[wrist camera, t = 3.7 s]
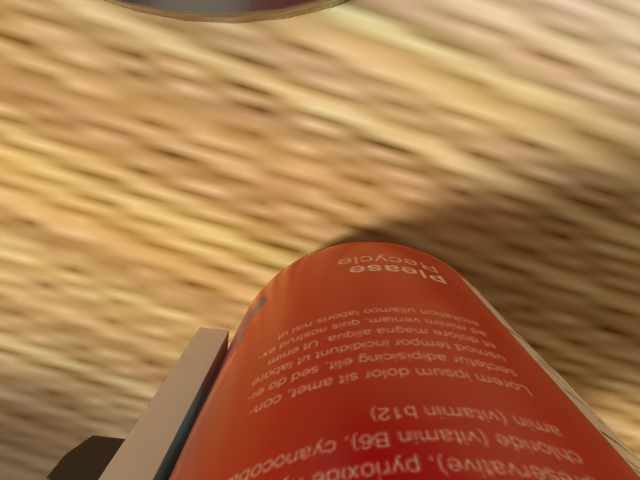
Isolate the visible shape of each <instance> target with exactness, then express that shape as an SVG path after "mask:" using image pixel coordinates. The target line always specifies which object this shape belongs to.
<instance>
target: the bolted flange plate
mask: <svg viewBox="0 0 640 480" xmlns="http://www.w3.org/2000/svg"><path fill="white" fill-rule="evenodd" d="M104 1H107V2H110V3H113V4H116V5H119V6H122V7H125V8H128V9H131V10H134V11H137V12H142V13H147V14H152V15H158V16H163V17H168V18H173V19H178V20H184V21H198V22H219V23H243V22H254V21H264V20H274V19H285V18H289V17H293V16H297V15H301V14H305V13H309V12H313V11H317V10H321V9H325V8H329V7H333V6H336V5H338V4H341V3H343V2H346V1H348V0H104Z"/></svg>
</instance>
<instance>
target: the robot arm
mask: <svg viewBox="0 0 640 480" xmlns="http://www.w3.org/2000/svg"><path fill="white" fill-rule="evenodd" d="M228 335H229V331H226V330H217V329H208V328H199V330H198V331H197V333H196V334H195V336H194V337H193V339H192V340H191V342H190V343H189V345H188V346H187V348H186V349H185V351H184V352H183V354H182V355H181V357H180V358H179V360H178V361H177V363H176V364H175V366H174V367H173V369H172V370H171V372H170V373H169V375H168V376H167V378H166V379H165V381H164V382H163V384H162V385H161V387H160V388H159V390H158V391H157V393H156V394H155V396H154V397H153V399H152V400H151V402H150V403H149V405H148V406H147V408H146V409H145V411H144V412H143V414H142V415H141V417H140V418H139V420H138V421H137V423H136V424H135V426H134V427H133V429H132V430H131V432H130V433H129V435H128V436H127V438H126V439H118V438H109V437H101V436H92V437H90V438H89V439H87V440H86V441H84V442H83V443H81V444H80V445H79V446H77V447H76V448H74V449H73V450H71V451H70V452H68V453H67V454H66V455H65V456H64V457H63V458H62V460H61V461H60V462H59V463H58V464H57V466H56V467H55V468H54V469H53V470H52V472H51V473H50V474H49V475H48V477H47V478H46V480H167V478H168V476H169V474H170V472H171V470H172V467H173V465H174V463H175V461H176V459H177V457H178V455H179V453H180V451H181V448H182V446H183V444H184V442H185V440H186V438H187V436H188V434H189V432H190V429H191V427H192V425H193V423H194V421H195V419H196V417H197V415H198V413H199V410H200V408H201V406H202V404H203V402H204V400H205V398H206V396H207V393H208V391H209V389H210V387H211V385H212V383H213V381H214V379H215V377H216V374H217V372H218V370H219V368H220V366H221V364H222V362H223V360H224V358H225V355H226V353H227V350H228ZM552 369H553V370H554V368H552ZM554 371H555V370H554ZM555 372H556V371H555ZM556 373H557V372H556ZM557 375H558V376H559V377H560V378H561V379H562V380H563V381H564V382H565V383H566V384H567V385H568V386H569V387H570V388H571V386H570V385H569V384H568V383H567V382H566V381H565V380H564V379H563V378H562V377H561V376H560V375H559V374H558V373H557ZM571 389H572V388H571ZM572 391H573V392H574V393H575V394H576V395H577V396H578V397H579V398H580V399H581V400H582V401H583V402H584V403H585V404H586V405H587V406H588V408H589V409H590V410H591V411H592V412H593V413H594V414H595V415H596V416H597V417H598V418H599V419H600V420H601V421H602V422H603V423H604V425H605V426H606V427H607V428H608V429H609V430H610V431H611V432H612V433H613V434H614V435H615V436H616V437H617V438H618V439H619V441H620V442H621V443H622V444H623V445H624V446H625V447H626V448H627V449H628V450H629V451H630V452H631V453H632V454H633V455H634V456H635V458H636V459H637V460H638V461H639V462H640V459H639V458H638V457H637V456H636V455H635V454H634V453H633V452H632V451H631V450H630V449H629V448H628V447H627V446H626V445H625V444H624V442H623V441H622V440H621V439H620V438H619V437H618V436H617V435H616V434H615V433H614V432H613V431H612V430H611V429H610V428H609V427H608V426H607V424H606V423H605V422H604V421H603V420H602V419H601V418H600V417H599V416H598V415H597V414H596V413H595V412H594V411H593V410H592V409H591V408H590V407H589V405H588V404H587V403H586V402H585V401H584V400H583V399H582V398H581V397H580V396H579V395H578V394H577V393H576V392H575V391H574V390H573V389H572Z"/></svg>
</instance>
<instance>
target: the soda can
mask: <svg viewBox="0 0 640 480" xmlns="http://www.w3.org/2000/svg"><path fill="white" fill-rule="evenodd" d="M167 480H640V462H639V461H638V460H637V459H636V458H635V456H634V455H633V454H632V453H631V452H630V451H629V450H628V449H627V448H626V447H625V446H624V445H623V444H622V443H621V442H620V441H619V439H618V438H617V437H616V436H615V435H614V434H613V433H612V432H611V431H610V430H609V429H608V428H607V427H606V426H605V425H604V423H603V422H602V421H601V420H600V419H599V418H598V417H597V416H596V415H595V414H594V413H593V412H592V411H591V410H590V409H589V408H588V406H587V405H586V404H585V403H584V402H583V401H582V400H581V399H580V398H579V397H578V396H577V395H576V394H575V393H574V392H573V391H572V389H571V388H570V387H569V386H568V385H567V384H566V383H565V382H564V381H563V380H562V379H561V378H560V377H559V376H558V375H557V373H556V372H555V371H554V370H553V369H552V368H551V367H550V366H549V365H548V364H547V363H546V362H545V361H544V360H543V359H542V358H541V356H540V355H539V354H538V353H537V352H536V351H535V350H534V349H533V348H532V347H531V346H530V345H529V344H528V343H527V342H526V340H525V339H524V338H523V337H522V336H521V335H520V334H519V333H518V332H517V331H516V330H515V329H514V328H513V327H512V326H511V325H510V323H509V322H508V321H507V320H506V319H505V318H504V317H503V316H502V315H501V314H500V313H499V312H498V311H497V310H496V309H495V307H494V306H493V305H492V304H491V303H490V302H489V301H488V300H487V299H486V298H485V297H484V296H483V295H482V294H481V293H480V292H479V291H478V290H477V289H476V288H475V287H474V286H473V285H472V284H471V283H470V282H469V281H468V280H467V279H466V278H465V277H464V276H463V275H461V274H460V273H459V272H458V271H456V270H455V269H454V268H452V267H451V266H449V265H448V264H446V263H444V262H443V261H441V260H439V259H437V258H436V257H434V256H432V255H430V254H427V253H425V252H423V251H420V250H417V249H415V248H411V247H408V246H404V245H400V244H395V243H388V242H378V241H361V242H350V243H344V244H339V245H334V246H330V247H327V248H324V249H321V250H318V251H316V252H313V253H311V254H309V255H306V256H305V257H303V258H301V259H299V260H297V261H295V262H294V263H292V264H291V265H289V266H288V267H286V268H285V269H284V270H282V271H281V272H280V273H279V274H277V275H276V276H275V277H274V278H273V279H272V280H271V281H270V282H269V283H268V284H267V285H266V286H265V287H264V288H263V290H262V291H261V292H260V293H259V294H258V296H257V297H256V298H255V300H254V301H253V303H252V304H251V306H250V307H249V309H248V311H247V312H246V314H245V316H244V318H243V320H242V322H241V324H240V326H239V328H238V330H237V332H236V334H235V336H234V338H233V341H232V343H231V345H230V347H229V349H228V351H227V353H226V355H225V358H224V360H223V362H222V364H221V366H220V368H219V370H218V372H217V374H216V377H215V379H214V381H213V383H212V385H211V387H210V389H209V391H208V393H207V396H206V398H205V400H204V402H203V404H202V406H201V408H200V410H199V413H198V415H197V417H196V419H195V421H194V423H193V425H192V427H191V429H190V432H189V434H188V436H187V438H186V440H185V442H184V444H183V446H182V448H181V451H180V453H179V455H178V457H177V459H176V461H175V463H174V465H173V467H172V470H171V472H170V474H169V476H168V478H167Z"/></svg>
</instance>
